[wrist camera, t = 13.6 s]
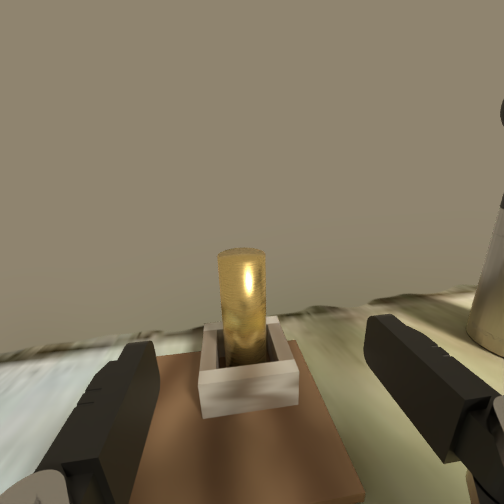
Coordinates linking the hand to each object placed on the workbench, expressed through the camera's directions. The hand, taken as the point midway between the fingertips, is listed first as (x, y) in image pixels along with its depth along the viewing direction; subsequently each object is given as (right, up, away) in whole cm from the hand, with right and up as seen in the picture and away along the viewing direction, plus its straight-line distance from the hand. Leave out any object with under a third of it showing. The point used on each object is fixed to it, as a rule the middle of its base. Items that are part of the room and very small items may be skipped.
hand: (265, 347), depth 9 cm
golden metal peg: (-1, -10, +17) cm, 20 cm away
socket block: (-3, -12, +14) cm, 19 cm away
